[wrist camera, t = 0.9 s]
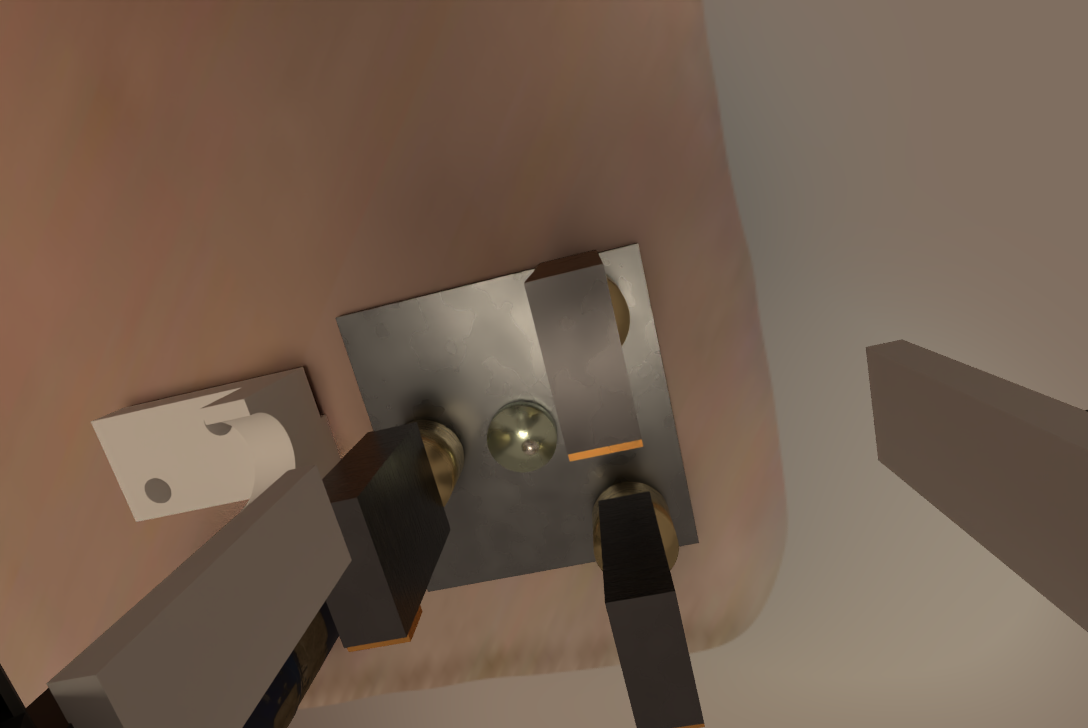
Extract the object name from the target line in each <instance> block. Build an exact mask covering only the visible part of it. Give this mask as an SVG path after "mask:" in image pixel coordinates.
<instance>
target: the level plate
mask: <svg viewBox="0 0 1088 728" xmlns="http://www.w3.org/2000/svg"><path fill="white" fill-rule="evenodd" d="M598 254H599V256H600V258H601V260H602V262H603V264H604V269H605V273H606V275H607V276H609V277H610V278H611V279H612V280H613V281H614V282H615V283H616V284H617V286H618V287H619V289H620V291H621V293H622V294H623V296H624V298H625V300H626V302H627V305H628V308H629V313H630V327H629V331H628V335H627V337H626V340H625V342H624V343H623V345H622V351H623V355H624V360H625V365H626V369H627V374H628V378H629V383H630V387H631V392H632V397H633V401H634V406H635V410H636V415H637V419H638V424H639V428H640V433H641V438H642V443H643V447H639V448H634V449H629V450H624V451H619V452H614V453H610V454H605V455H600V456H595V457H590V458H585V459H580V460H575V461H569V457H568V455H567V451H566V447H565V443H564V439H563V436H562V432H561V428H560V424H559V420H558V416H557V412H556V408H555V404H554V400H553V396H552V392H551V388H550V384H549V380H548V377H547V373H546V369H545V365H544V361H543V357H542V353H541V349H540V345H539V341H538V337H537V333H536V329H535V325H534V321H533V318H532V314H531V310H530V306H529V302H528V298H527V294H526V290H525V286H524V282H525V281H526V280H527V278H528V277H529V276H530V275H531V274H532V272H533V271H534V270H535V269H536V268H533V269H529V270H525V271H521V272H517V273H512V274H508V275H504V276H500V277H496V278H492V279H488V280H484V281H480V282H476V283H472V284H468V285H464V286H460V287H455V288H451V289H447V290H443V291H439V292H435V293H431V294H427V295H423V296H419V297H415V298H411V299H407V300H403V301H399V302H394V303H390V304H386V305H382V306H378V307H374V308H370V309H366V310H362V311H358V312H354V313H350V314H346V315H342V316H339V317H336V321H337V324H338V327H339V330H340V333H341V336H342V339H343V342H344V345H345V348H346V351H347V353H348V356H349V359H350V362H351V365H352V368H353V371H354V374H355V377H356V380H357V383H358V386H359V389H360V392H361V395H362V398H363V401H364V404H365V407H366V410H367V413H368V416H369V419H370V422H371V424H372V427H373V430H374V431H377V430H382V429H386V428H391V427H395V426H400V425H405V424H407V423H409V422H412V421H417V420H430V421H435V422H438V423H440V424H442V425H444V426H446V427H447V428H449V429H450V430H451V431H452V432H453V433H454V434H455V435H456V436H457V438H458V439H459V441H460V443H461V445H462V447H463V451H464V466H463V469H462V472H461V474H460V476H459V478H458V480H457V483H456V485H455V487H454V489H453V491H452V494H451V496H450V498H449V500H448V502H447V503H446V505H445V506H444V510H445V513H446V516H447V519H448V522H449V525H450V529H451V530H450V533H449V535H448V537H447V540H446V542H445V545H444V547H443V550H442V552H441V555H440V557H439V559H438V562H437V564H436V567H435V569H434V572H433V574H432V577H431V579H430V582H429V584H428V586H427V590H428V592H430V591H435V590H441V589H446V588H452V587H457V586H463V585H468V584H474V583H479V582H485V581H490V580H496V579H501V578H507V577H512V576H518V575H523V574H529V573H535V572H540V571H546V570H551V569H557V568H562V567H568V566H573V565H579V564H584V563H590V562H595V561H596V559H595V556H594V547H593V524H592V512H593V507H594V504H595V502H596V500H597V499H598V497H599V496H600V495H601V494H602V493H603V492H604V491H605V490H606V489H608V488H609V487H611V486H613V485H615V484H618V483H622V482H640V483H644V484H646V485H649V486H651V487H652V488H654V489H655V490H657V491H658V492H659V493H660V494H661V495H662V496H663V498H664V499H665V501H666V503H667V506H668V509H669V512H670V516H671V519H672V522H673V526H674V529H675V532H676V535H677V539H678V544H679V546H684V545H689V544H695V543H699V541H698V536H697V531H696V526H695V521H694V516H693V512H692V507H691V502H690V497H689V492H688V487H687V482H686V477H685V472H684V467H683V462H682V457H681V452H680V448H679V443H678V438H677V433H676V428H675V423H674V418H673V413H672V408H671V403H670V398H669V393H668V388H667V383H666V379H665V374H664V369H663V364H662V359H661V354H660V349H659V344H658V339H657V334H656V329H655V324H654V319H653V315H652V310H651V305H650V300H649V295H648V290H647V285H646V280H645V275H644V270H643V265H642V260H641V255H640V251H639V246H638V243H635V244H630V245H626V246H622V247H618V248H614V249H610V250H606V251H602V252H598Z"/></svg>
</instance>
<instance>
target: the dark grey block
mask: <svg viewBox="0 0 1088 728" xmlns="http://www.w3.org/2000/svg"><path fill="white" fill-rule="evenodd" d="M524 286H525V290H526V294H527V298H528V302H529V306H530V310H531V314H532V318H533V321H534V325H535V329H536V333H537V337H538V341H539V345H540V349H541V353H542V357H543V361H544V365H545V369H546V373H547V377H548V380H549V384H550V388H551V392H552V396H553V400H554V404H555V408H556V412H557V416H558V420H559V424H560V428H561V432H562V436H563V439H564V443H565V447H566V451H567V455H568V457H569V461H575V460H580V459H585V458H590V457H595V456H600V455H605V454H610V453H614V452H619V451H624V450H629V449H634V448H639V447H643V443H642V438H641V433H640V428H639V424H638V419H637V415H636V410H635V406H634V401H633V397H632V392H631V387H630V383H629V378H628V374H627V369H626V365H625V360H624V355H623V351H622V345H623V343H624V342H625V340H626V337H627V335H628V331H629V327H630V313H629V308H628V305H627V302H626V300H625V298H624V296H623V294H622V293H621V291H620V289H619V287H618V286H617V284H616V283H615V282H614V281H613V280H612V279H611V278H610V277H609V276H607V275H606V273H605V269H604V264H603V262H602V260H601V258H600V256H599V254H598V252H597V250H592V251H588V252H584V253H580V254H576V255H572V256H567V257H563V258H559V259H555V260H551V261H547V262H543V263H540V264H539V265H538V266H537V267H536V269H535V270H534V271H533V272H532V274H531V275H530V276H529V277H528V278H527V280H526V281H525V282H524Z"/></svg>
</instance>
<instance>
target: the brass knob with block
mask: <svg viewBox="0 0 1088 728" xmlns="http://www.w3.org/2000/svg"><path fill="white" fill-rule="evenodd" d="M592 524H593V547H594V556H595V559H596V562H597V564H598V565H599V567H600V568H601V570H602V571H603V579H604V594H605V605H606V609H607V612H608V616H609V620H610V624H611V628H612V632H613V636H614V640H615V644H616V648H617V652H618V656H619V660H620V664H621V668H622V671H623V675H624V679H625V683H626V687H627V691H628V695H629V699H630V703H631V707H632V711H633V715H634V718H635V723H636V726H637V728H700V727H705V725H704V720H703V716H702V711H701V707H700V702H699V698H698V693H697V689H696V684H695V680H694V675H693V671H692V666H691V661H690V657H689V652H688V647H687V643H686V638H685V634H684V629H683V625H682V620H681V616H680V611H679V606H678V602H677V597H676V593H675V589H674V585H673V581H672V577H671V573H670V570H671V569H672V567H673V566H674V564H675V562H676V560H677V557H678V552H679V544H678V539H677V535H676V532H675V529H674V526H673V522H672V519H671V516H670V512H669V509H668V506H667V503H666V501H665V499H664V498H663V496H662V495H661V494H660V493H659V492H658V491H657V490H655V489H654V488H652V487H651V486H649V485H646V484H644V483H640V482H622V483H618V484H615V485H613V486H611V487H609V488H608V489H606V490H605V491H604V492H603V493H602V494H601V495H600V496H599V497H598V499H597V500H596V502H595V504H594V507H593V512H592Z"/></svg>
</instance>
